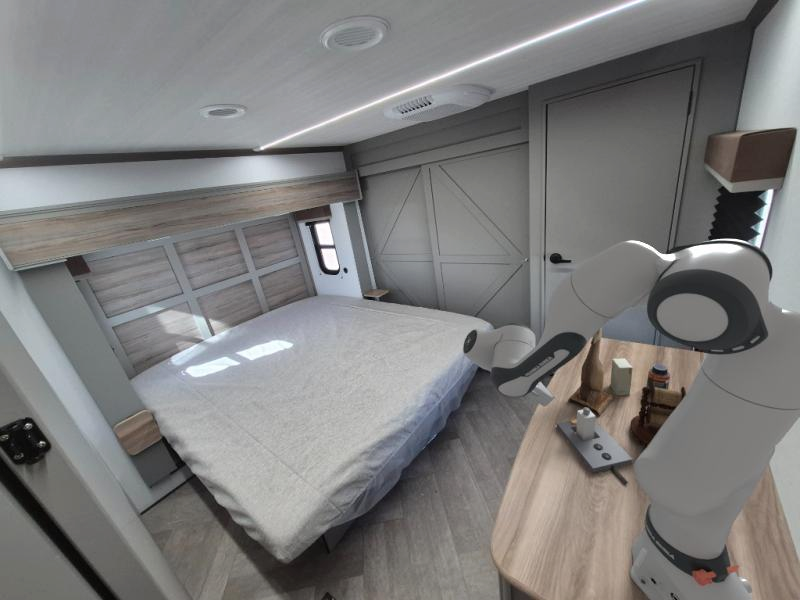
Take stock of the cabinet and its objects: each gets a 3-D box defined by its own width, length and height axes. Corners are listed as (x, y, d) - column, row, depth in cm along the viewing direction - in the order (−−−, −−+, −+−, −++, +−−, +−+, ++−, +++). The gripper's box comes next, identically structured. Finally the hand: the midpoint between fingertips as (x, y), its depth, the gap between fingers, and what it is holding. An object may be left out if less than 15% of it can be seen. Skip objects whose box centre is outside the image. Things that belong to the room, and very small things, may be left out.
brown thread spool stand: (686, 427, 97) (698, 376, 90) (695, 465, 86) (709, 410, 79) (629, 415, 105) (635, 366, 98) (629, 447, 94) (637, 396, 87)
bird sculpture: (567, 403, 115) (569, 330, 102) (580, 386, 121) (584, 315, 109) (600, 418, 107) (607, 340, 94) (613, 398, 113) (621, 323, 100)
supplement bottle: (670, 397, 109) (676, 371, 105) (651, 398, 110) (656, 372, 106) (660, 386, 114) (664, 361, 110) (642, 387, 115) (645, 362, 111)
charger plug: (593, 439, 99) (595, 412, 95) (583, 442, 99) (585, 414, 95) (586, 431, 102) (588, 404, 98) (576, 434, 102) (577, 406, 98)
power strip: (646, 479, 85) (647, 472, 84) (605, 489, 85) (605, 482, 84) (589, 419, 106) (590, 413, 105) (556, 427, 106) (556, 421, 105)
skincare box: (630, 395, 113) (633, 368, 108) (616, 395, 114) (619, 368, 109) (622, 384, 119) (625, 357, 114) (609, 384, 120) (612, 358, 115)
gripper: (536, 381, 77) (572, 403, 81) (502, 341, 96) (533, 360, 100) (519, 399, 78) (555, 420, 82) (489, 355, 97) (520, 374, 101)
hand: (543, 387), depth 91 cm, fingers open, 8 cm apart
